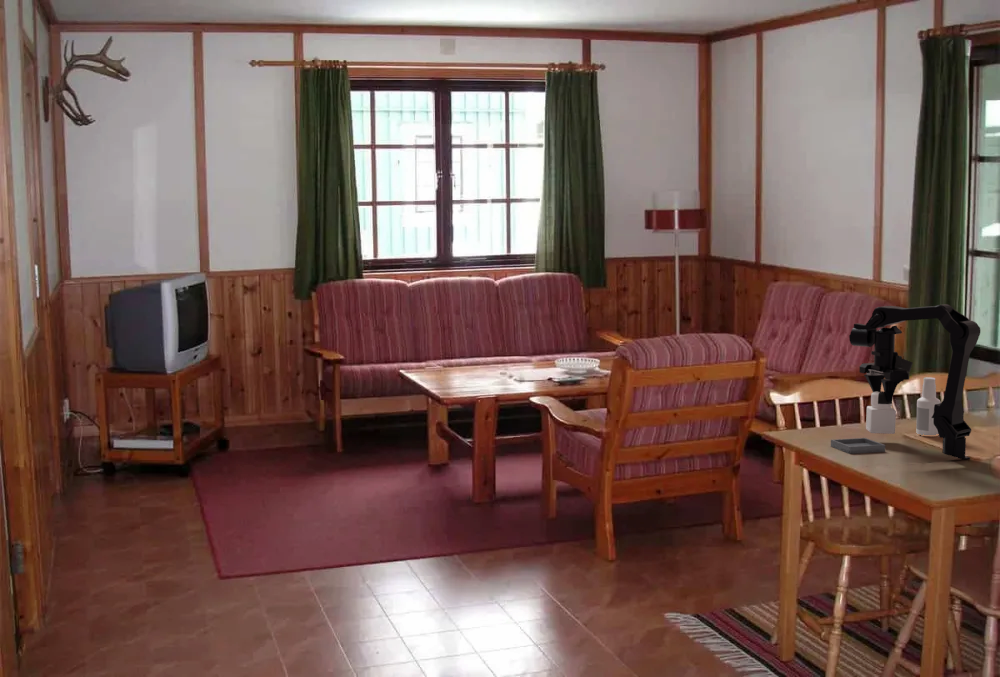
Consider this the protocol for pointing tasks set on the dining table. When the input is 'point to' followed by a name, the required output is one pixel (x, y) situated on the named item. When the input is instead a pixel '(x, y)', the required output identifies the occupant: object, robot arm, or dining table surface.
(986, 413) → the dining table surface
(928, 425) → the spray bottle
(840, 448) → the tray
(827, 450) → the dining table surface
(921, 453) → the dining table surface
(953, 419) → the robot arm
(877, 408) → the medicine bottle
